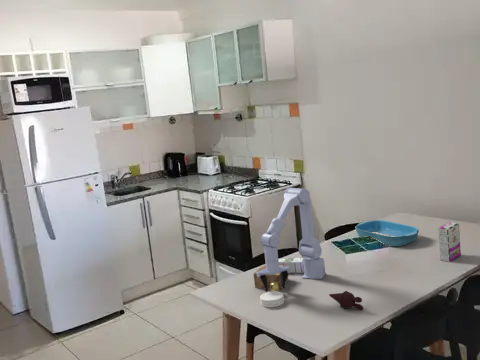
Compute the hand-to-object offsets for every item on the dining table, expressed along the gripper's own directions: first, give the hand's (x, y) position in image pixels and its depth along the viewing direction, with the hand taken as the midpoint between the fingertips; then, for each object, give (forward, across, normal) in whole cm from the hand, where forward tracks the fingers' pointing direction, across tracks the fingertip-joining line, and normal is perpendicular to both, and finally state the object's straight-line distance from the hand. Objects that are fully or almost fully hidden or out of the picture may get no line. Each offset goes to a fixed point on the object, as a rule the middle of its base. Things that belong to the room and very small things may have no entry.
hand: (275, 289), depth 228 cm
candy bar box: (+2, -88, -2) cm, 88 cm away
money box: (+2, -2, -12) cm, 13 cm away
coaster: (+3, +4, +8) cm, 10 cm away
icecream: (+2, -22, +26) cm, 34 cm away
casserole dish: (+2, -76, -44) cm, 88 cm away
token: (+2, 0, 0) cm, 2 cm away
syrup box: (-1, -7, -27) cm, 28 cm away
